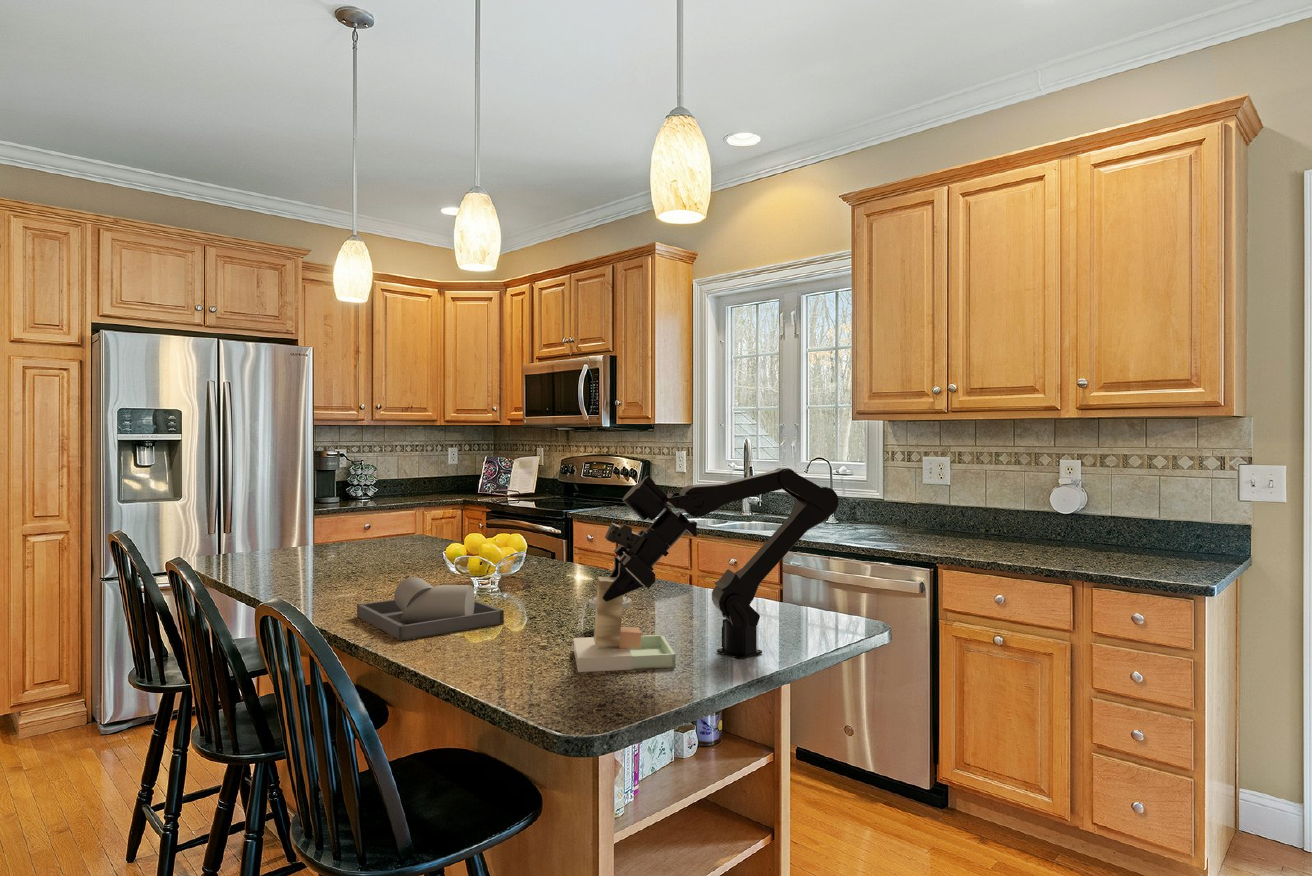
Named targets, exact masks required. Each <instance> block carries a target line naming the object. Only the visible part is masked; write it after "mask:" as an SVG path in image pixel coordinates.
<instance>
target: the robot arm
mask: <svg viewBox="0 0 1312 876" xmlns="http://www.w3.org/2000/svg"><path fill="white" fill-rule="evenodd" d="M780 490H783V491H784V492H785V493H787V494H788V495H790V496H791V497H792V498H794V499H795V502H794V504H793V506H792V508H791V511H790V514H789V516H788V517H787V518H786V519H785V520H784V521H783V523H781V525H780V526H779V527H778V528H777V529H776V531H775V532H774V533H773V534H772V535H771V536H770V537H769V538H768V539H767V540H766V541H765V543H764V544H763V545H762V546H760V548H759V549H758V550H757V551H756V553H755V554H754V555H753V556H752V557H751V558H750V559H749V560H748V561H747V563H745V565H743V567H741V568H740V569H739V570H737V571H733V570H731V569H729V568H727V569H726V570H725V572H724V573H723V575H722V576H721V578H720V579H719V580H717V581H715V582H714V583H713V584H714V585H715V586H714V588H713V589H712V592H711V601H712V604H713V605H714V606H715V608H717V610H718V611H719V612H720V613H721V616H722V618H724V619H722V626H721V648H717V649H716V653H719V654H723V655H726V656H728V657H731V658H735V659H739V660H742V659H745V658H749V657H753V656H757V655H761V654H763V650H762V649H758V648H757V638H758V637H757V636H758V635H757V632H758V631H757V626H758V624H759V621H760V618H761V615H760V613H758V612H757V611H756V610H755V609H754V608H753V607H752V606H751V604H752V602H753V601H754V598H755V596H756V594H757V591H758V589H759V586H760V584H761V583H762V582H763V581H764V579H765V578H766V577H768V575H769V574H770V573H771V572H772V570H773V569H774V568H776V566H777V565H778V564H779V563H780V561H782V559H783V558H784V557H785V556H786V555H787V554H788V553H789V552H790V550H791V549H792V548H793V547H794V546H795V545H796V544H797V543H798V542H799V540H800V539H802V537H803V536H804V535H805V534H806V533H808V531H809V530H811V529H813V528H814V527H816V526H819V525H820V524H821V523H824V522H825V521H826V520H828V518H830V517H831V516H832V515H833V514H835V513H836V511H837V509H838V508H839V497H838V494H837V492H836V491H835V490H834V489H832V488H831V487H828V486H822V485H817V484H816V483H814V482H813V481H811V480H809V479H807V478H806V477H803V476H802V475H800V474H798V473H796V472H795V471H794V470H793V469H792V468H787V467H777V468H776V469H774V470H771V471H766V472H763V473H762V472H761V473H759V474H754V475H750V476H747V477H742V478H738V479H735V480H730V481H726V482H723V483H703V484H702V483H701V484H689V485H686V486H684V487H683V488H681V490H679V491H677V492H672V493H671V492H669V493H665V492H664V491H663V490H662V489H661V488H660V487H659V486H658V485H657V484H656V482H655V481H654V479H652V478H651V477H650V476H649V475H647V476H645V477H643V479H642V480H640V481H639V482H638V483H637V484H636V485H633V486H632V487H630V489H629V490H628V491H627V492H626V494H625V495H624V496H623V498H622V501H623V503H625V505H627V507H628V508H630V509H631V510H632V512H634V514H635V515H637V516H638V517H639V518H640V519H641V520H642V521H645V520H647V519H648V520H650V521H653V522H652V523H651V525H649V526H648V527H647V529H641V530H639V532H638V533H637V532H634V531H633V528H632V527H631V526H629V525H627V524H624V523H623V524H621V526H620V525H618V524H616V523H613V522H611V523H610V524H609V526H608V529H607V532H606V534H605V536H604V538H605V540H606V541H608V542H610V543H612V544H617V545H618V546H617V547H615V548H614V550H613V553H615V554H616V555H613V562H614V563H613V569H612V571H611V573H610V575H609V576H608V577H616V578H615V580H614V581H613V583H612V584H611V585H610V587H609V588H608V590H607V591H606V593H605V594H604V596H603V599H604V600H605V601H606V602H607V601H610V600H612V599H614V598H617V597H619V596H621V595H623V596H624V595H626V594H628V593H630V592H633V591H635V590H638V589H640V588H644V586H645V588H647V590H648V589H650V588H651V586H653V584H654V583H655V582H656V573H655V572H654V569H655V568H654V566H655V565H656V564H657V563H658V561H659V560H660V559H662V557H667V556H668V554H670V552H669V550H670V549H671V548H672V547H673V546H674V545H675V543H677V542H678V541H679V539H680V538H681V537H682V536H684V534H685V533H686V532H688V533H689V534H690V535H691V536H693V537H696V538H697V536H698V531H697V526H698V522H697V521H695V520H691V521H690V520H689V519H688V518H687V517H686V516H685V515H684V513H685V514H687V515H689V516H691V517H693V518H694V517H695V518H699V517H704V516H705V515H708V514H710V513H712V512H714V511H717V510H719V509H721V508H722V507H723V506H726V505H728V504H730V503H732V502H737V501H741V500H744V499H748V498H752V497H757V496H760V495H763V494H769V493H771V492H772V493H773V492H777V491H780ZM666 504H667V505H669V506H671V507H673V508H675V509H680V510H681V511H678V512H673V510H672V509H670V508H669V507H668V506H667V505H666ZM662 511H663V512H662ZM682 512H684V513H682ZM617 556H618V557H617Z"/></svg>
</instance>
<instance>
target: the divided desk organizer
mask: <svg viewBox="0 0 1312 876" xmlns="http://www.w3.org/2000/svg"><path fill="white" fill-rule="evenodd" d="M504 612H505V610H504V609H501V608H498V607H495V606H492V605H491V604H488V603H484V602H482V601H479V600H476V599H474V612H473V614H471V615H465V616H458V617H452V618H446V619H439V620H433V621H427V622H420V623H402V622H401V616H402V614H403V611H402V610H401V609H400V608H399V607H398V606H397V605H396V603H395V599H388V600H380V601H372V602H366V603H359V604H357V605H356V618H357V617H358V619H359V618H360V620H361V621H363V620H364V621H363V622H365V621H366V622H365V623H366V624H368V623H369V624H368V625H370V626H372V625H373V626H372V627H374V626H375V627H374V628H376V627H377V628H376V629H378V630H379V629H381V630H383V631H384V632H383V631H382V632H383V633H385V632H386V633H385V634H387V635H388V634H390V635H391V636H390V635H389V636H390V637H392V636H393V637H392V638H394V639H396V638H397V639H396V640H398V639H399V640H400V642H403V641H402V640H406V641H408V640H407V639H411V640H414V639H413V638H417V639H422V637H423V638H428V637H427V636H429V637H434V636H433V635H435V636H440V635H439V634H441V635H445V634H451V633H457V632H464V631H470V630H475V629H479V628H480V629H481V628H487V627H492V626H499V625H504V623H505V622H504V621H505V618H504V616H505V614H504ZM381 630H380V631H381ZM399 640H398V641H399Z"/></svg>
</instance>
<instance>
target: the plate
mask: <svg viewBox="0 0 1312 876" xmlns="http://www.w3.org/2000/svg"><path fill="white" fill-rule="evenodd" d="M573 654H574V659H575V663H576V669H577V672H578V673H586V672H587V673H588V672H607V671H609V672H610V671H611V672H612V671H630V670H632V654H631V652H630V650H629V648H619V646H596V645H595V642H594V636H591V637H573ZM632 671H633V670H632Z"/></svg>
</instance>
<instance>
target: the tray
mask: <svg viewBox="0 0 1312 876" xmlns="http://www.w3.org/2000/svg"><path fill="white" fill-rule="evenodd" d="M629 650H630V652H631V654H632V671H633V670H648V669H653V670H654V669H672V668H674V669H675V668H676V665H677V663H676V662H677V661H676V660H677V659H676V658H677V657H676V652H675V651H674V649H673V648H672V646H671V645H670V644H669V642H668V641H667V639H666V638H665V636H664V634H656V635H655V634H651V635H648V634H647V635H641V647H640V649H635V648H629Z"/></svg>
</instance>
